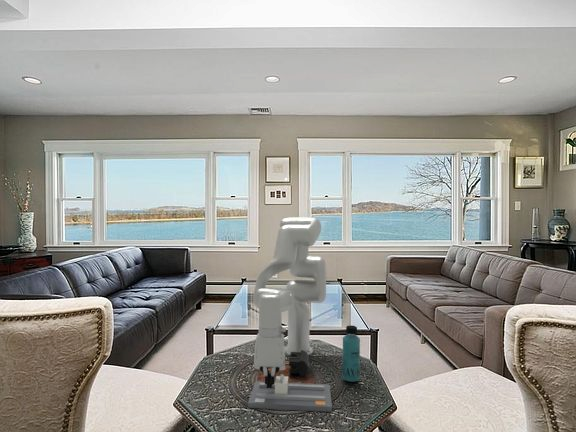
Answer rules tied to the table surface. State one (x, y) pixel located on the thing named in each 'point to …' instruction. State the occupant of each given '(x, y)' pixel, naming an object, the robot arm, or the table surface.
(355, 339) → the beverage bottle
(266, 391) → the breaker panel
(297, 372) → the end cap
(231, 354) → the table surface
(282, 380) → the knob
